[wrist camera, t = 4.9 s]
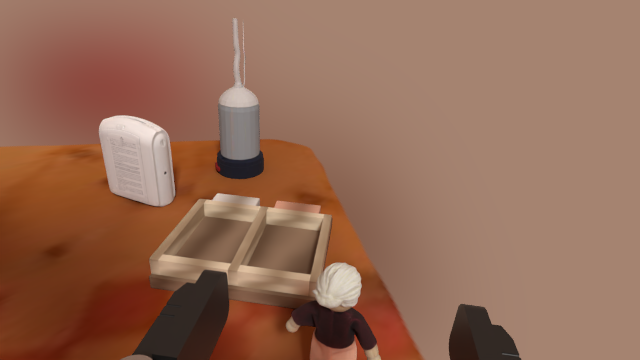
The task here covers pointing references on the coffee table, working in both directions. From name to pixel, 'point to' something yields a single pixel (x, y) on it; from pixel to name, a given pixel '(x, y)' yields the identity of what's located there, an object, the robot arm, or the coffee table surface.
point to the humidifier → (239, 127)
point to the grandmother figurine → (335, 317)
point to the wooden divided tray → (247, 249)
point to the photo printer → (137, 160)
